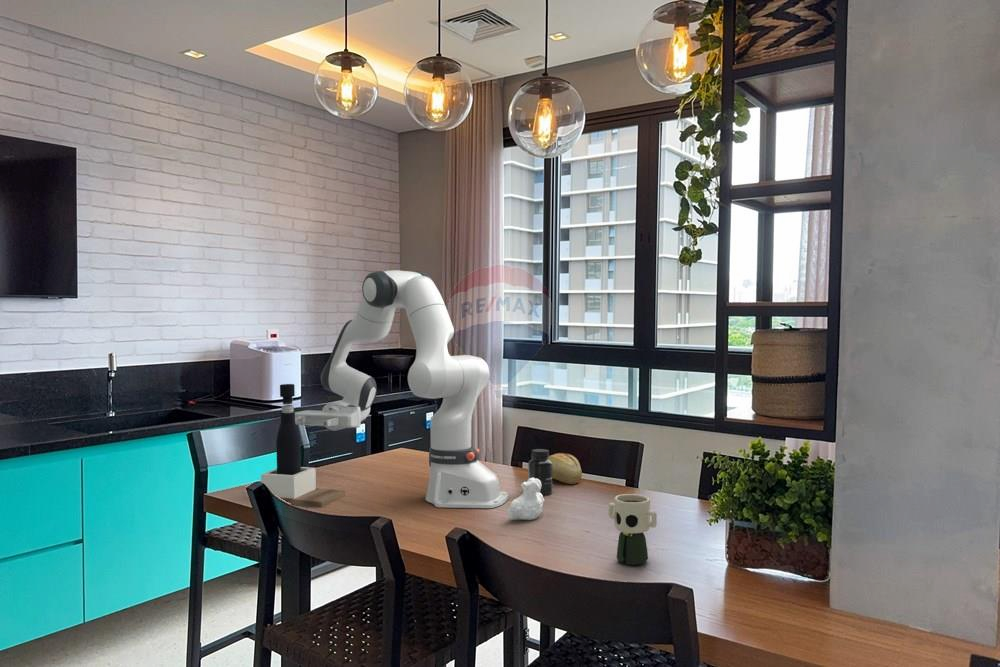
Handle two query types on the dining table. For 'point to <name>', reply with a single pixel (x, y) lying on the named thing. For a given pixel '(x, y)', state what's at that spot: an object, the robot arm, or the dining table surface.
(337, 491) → the bottle stand
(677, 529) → the dining table surface
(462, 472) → the robot arm
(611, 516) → the character mug
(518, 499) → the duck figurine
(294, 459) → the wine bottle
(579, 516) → the dining table surface
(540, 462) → the supplement bottle
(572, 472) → the bread roll
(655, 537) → the dining table surface
